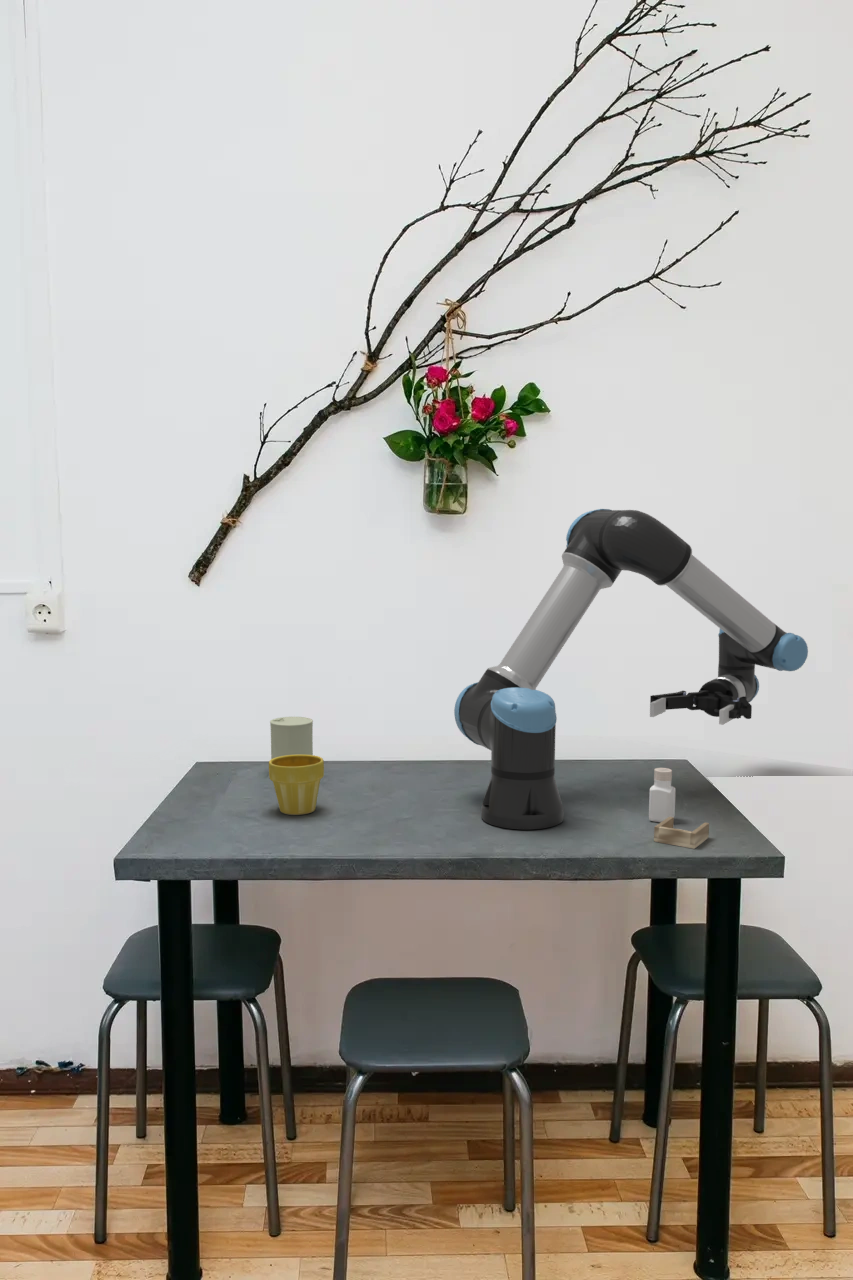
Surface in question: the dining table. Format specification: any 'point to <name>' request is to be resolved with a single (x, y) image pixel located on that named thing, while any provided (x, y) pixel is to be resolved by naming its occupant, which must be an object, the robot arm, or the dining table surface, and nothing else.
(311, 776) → the plant pot
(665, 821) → the tray
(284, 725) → the can
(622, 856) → the dining table surface
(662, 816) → the pepper shaker
